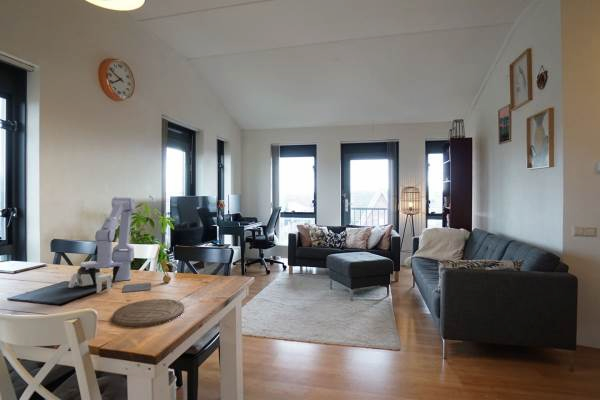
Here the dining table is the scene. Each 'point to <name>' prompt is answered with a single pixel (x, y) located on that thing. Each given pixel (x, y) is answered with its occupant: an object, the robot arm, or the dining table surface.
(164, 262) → the figurine
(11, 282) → the dining table surface
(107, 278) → the stool
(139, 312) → the trivet
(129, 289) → the mat
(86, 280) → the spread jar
